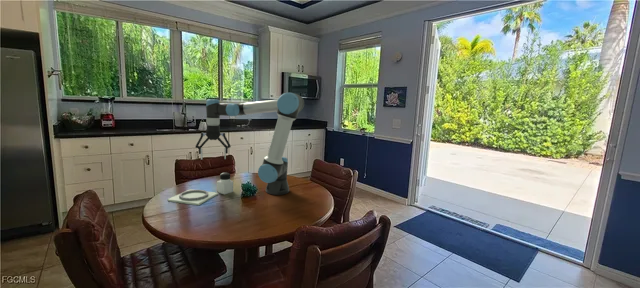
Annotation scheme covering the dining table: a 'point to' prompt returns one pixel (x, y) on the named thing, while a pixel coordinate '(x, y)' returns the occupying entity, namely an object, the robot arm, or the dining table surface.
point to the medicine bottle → (224, 184)
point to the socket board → (193, 197)
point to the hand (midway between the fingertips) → (213, 158)
